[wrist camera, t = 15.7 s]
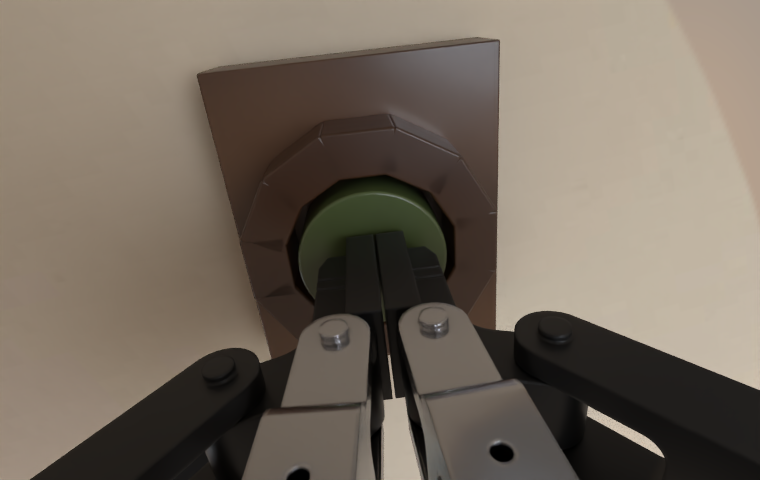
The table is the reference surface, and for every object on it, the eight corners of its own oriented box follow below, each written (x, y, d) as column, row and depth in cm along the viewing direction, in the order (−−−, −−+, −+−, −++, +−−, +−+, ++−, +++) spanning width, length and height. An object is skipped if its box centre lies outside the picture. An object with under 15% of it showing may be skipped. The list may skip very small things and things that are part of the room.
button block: (217, 66, 14) (171, 82, 10) (478, 36, 14) (524, 42, 10) (281, 331, 18) (265, 408, 14) (479, 307, 18) (512, 377, 15)
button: (292, 179, 13) (284, 201, 11) (432, 162, 13) (445, 182, 11) (315, 298, 14) (311, 331, 13) (439, 283, 15) (450, 315, 13)
